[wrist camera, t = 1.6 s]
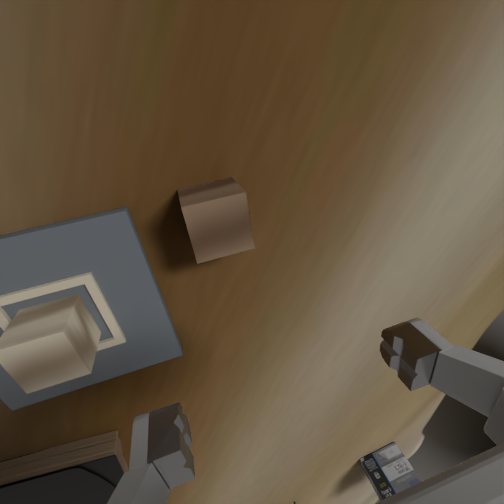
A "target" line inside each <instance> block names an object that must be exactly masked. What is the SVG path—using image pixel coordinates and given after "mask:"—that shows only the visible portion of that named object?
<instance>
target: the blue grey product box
mask: <svg viewBox="0 0 504 504" xmlns="http://www.w3.org/2000/svg"><path fill="white" fill-rule="evenodd" d="M360 462H361V466H362V468H363V470H364V472H365V473H366V475H367V477H368V479H369V481H370V483H371V484H372V486H373V488H374V490H375V492H376V494H377V495H378V497H379V499H380V501H382V500H384V499H386V498H388V497H390V496H392V495H394V494H397V493H399V492H401V491H403V490H405V489H407V488H409V487H411V486H413V485H416V484H418V483H420V482H422V481H421V480H420V478H419V477H418V475H417V474H416V472H415V471H414V469H413V468H412V466H411V465H410V464H409V462H408V461H407V459H406V458H405V456H404V455H403V453H402V452H401V450H400V449H399V448H398V446H397V445H396V443H395V442H393V443H391V444H389V445H387V446H385V447H383V448H381V449H379V450H377V451H375V452H373V453H371V454H369V455H367V456H365V457H363V458H361V459H360Z"/></svg>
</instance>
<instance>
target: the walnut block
mask: <svg viewBox="0 0 504 504" xmlns="http://www.w3.org/2000/svg"><path fill="white" fill-rule="evenodd" d="M178 195H179V200H180V205H181V209H182V212H183V216H184V219H185V223H186V226H187V230H188V233H189V237H190V240H191V244H192V247H193V251H194V254H195V257H196V261H197V264H199V263H202V262H206V261H210V260H213V259H217V258H221V257H224V256H228V255H232V254H235V253H239V252H243V251H246V250H250V249H254V248H255V247H254V241H253V234H252V228H251V222H250V215H249V209H248V203H247V197H246V192H245V191H244V190H243V189H242V188H241V187H240V186H239V185H238V183H237V182H236V181H235V180H234V179H233V178H232V177H231V178H227V179H223V180H218V181H214V182H209V183H205V184H200V185H196V186H191V187H187V188H182V189H178Z"/></svg>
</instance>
